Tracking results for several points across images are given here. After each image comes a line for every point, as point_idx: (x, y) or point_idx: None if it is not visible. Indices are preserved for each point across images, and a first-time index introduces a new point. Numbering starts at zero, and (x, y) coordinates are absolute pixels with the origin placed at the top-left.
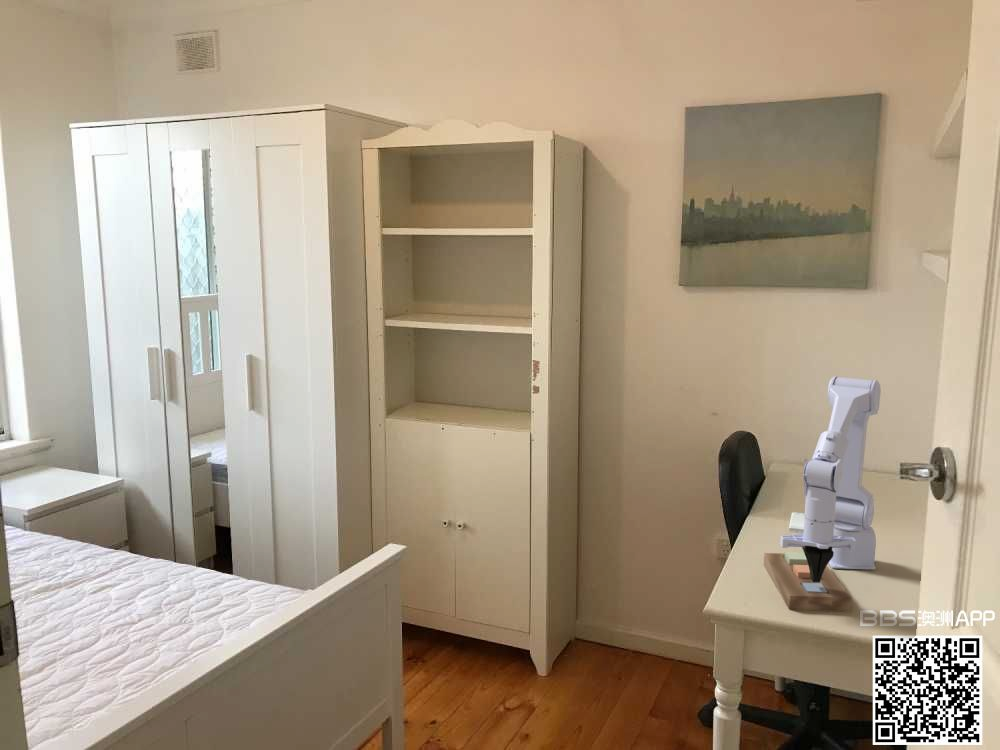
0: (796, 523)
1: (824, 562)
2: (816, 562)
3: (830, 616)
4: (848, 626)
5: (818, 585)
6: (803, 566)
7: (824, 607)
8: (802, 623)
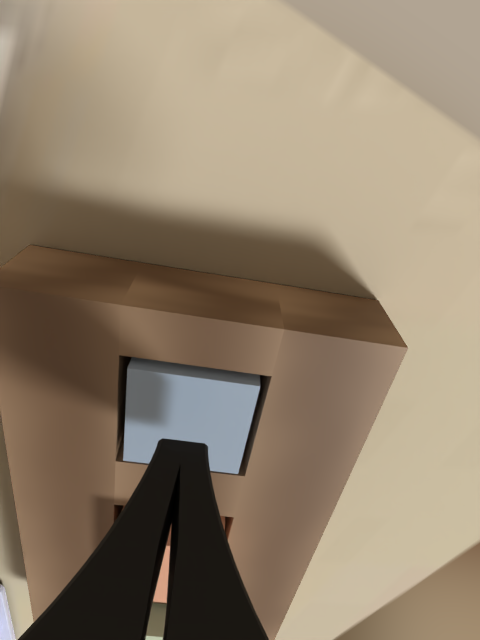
0: None
1: (99, 609)
2: (193, 614)
3: (174, 196)
4: (104, 28)
5: (152, 442)
6: (164, 591)
7: (179, 278)
8: (410, 115)
